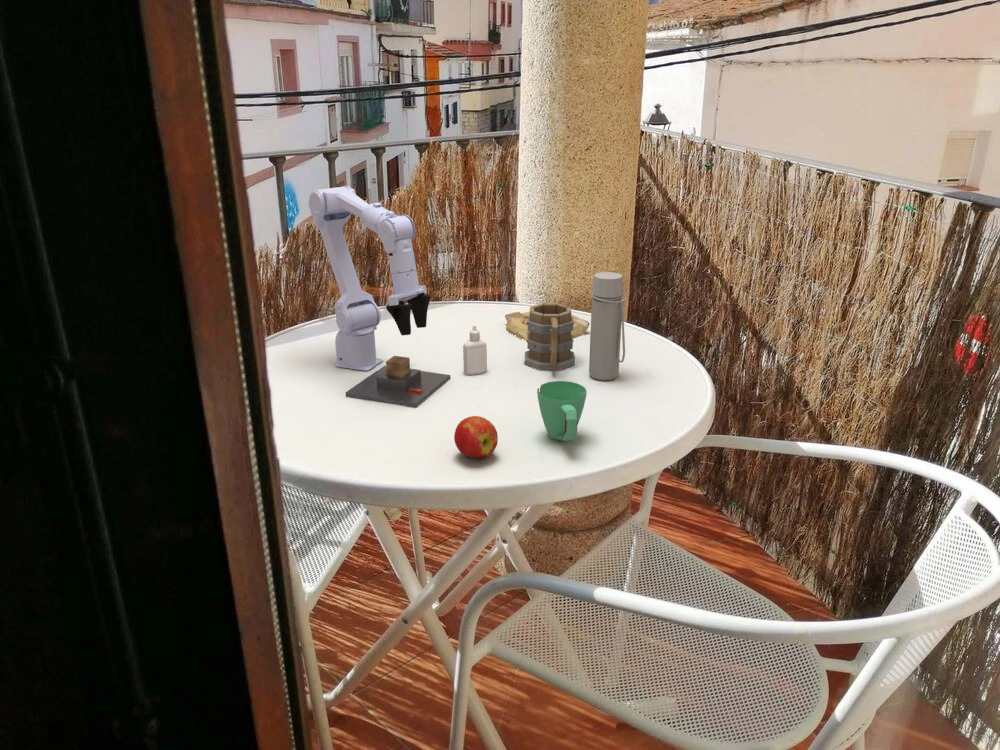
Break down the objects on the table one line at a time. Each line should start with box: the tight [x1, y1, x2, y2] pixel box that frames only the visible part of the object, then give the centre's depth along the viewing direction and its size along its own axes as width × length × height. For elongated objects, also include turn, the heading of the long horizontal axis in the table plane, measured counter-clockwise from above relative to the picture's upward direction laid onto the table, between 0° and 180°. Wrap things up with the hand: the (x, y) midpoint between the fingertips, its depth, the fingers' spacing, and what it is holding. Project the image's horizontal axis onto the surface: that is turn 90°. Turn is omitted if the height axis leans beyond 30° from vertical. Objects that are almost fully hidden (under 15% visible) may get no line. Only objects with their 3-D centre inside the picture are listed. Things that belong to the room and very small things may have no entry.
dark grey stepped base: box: [345, 365, 451, 409], centre depth 178 cm, size 18×18×4 cm
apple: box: [453, 415, 499, 460], centre depth 145 cm, size 8×8×8 cm
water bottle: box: [588, 271, 627, 382], centre depth 179 cm, size 9×8×25 cm
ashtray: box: [504, 311, 591, 341], centre depth 217 cm, size 24×24×5 cm
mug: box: [536, 380, 588, 442], centre depth 151 cm, size 15×10×10 cm
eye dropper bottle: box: [462, 325, 488, 376], centre depth 185 cm, size 4×6×12 cm
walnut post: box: [385, 355, 411, 378], centre depth 177 cm, size 4×4×6 cm
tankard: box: [524, 302, 576, 371], centre depth 188 cm, size 20×13×15 cm, turn 178°
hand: (414, 331), depth 173 cm, fingers open, 7 cm apart
